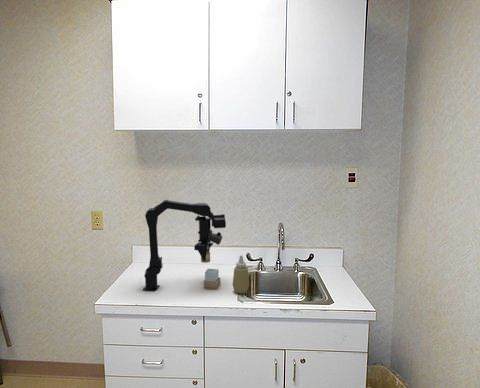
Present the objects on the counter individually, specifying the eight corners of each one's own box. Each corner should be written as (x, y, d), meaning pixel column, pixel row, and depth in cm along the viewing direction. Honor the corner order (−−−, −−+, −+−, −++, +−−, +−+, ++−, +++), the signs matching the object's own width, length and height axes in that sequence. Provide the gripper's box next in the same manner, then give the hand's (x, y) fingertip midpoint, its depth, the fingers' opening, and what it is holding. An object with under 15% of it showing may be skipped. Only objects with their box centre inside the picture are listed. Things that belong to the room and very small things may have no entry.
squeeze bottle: (236, 296, 171) (236, 259, 168) (230, 290, 178) (230, 254, 176) (251, 293, 174) (252, 257, 171) (245, 287, 181) (245, 252, 179)
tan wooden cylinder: (209, 262, 179) (208, 254, 179) (200, 262, 180) (199, 253, 180) (211, 260, 184) (211, 251, 183) (202, 259, 185) (202, 251, 184)
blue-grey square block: (215, 281, 179) (215, 273, 178) (204, 281, 180) (204, 272, 179) (218, 278, 184) (218, 269, 183) (208, 277, 185) (208, 268, 184)
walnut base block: (217, 290, 178) (217, 282, 178) (203, 289, 179) (203, 281, 179) (220, 285, 185) (220, 277, 185) (207, 284, 186) (207, 276, 186)
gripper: (216, 233, 170) (217, 265, 172) (224, 225, 188) (225, 254, 190) (193, 233, 171) (194, 265, 173) (203, 224, 190) (204, 253, 192)
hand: (205, 259), depth 182 cm, fingers closed on tan wooden cylinder, 5 cm apart
